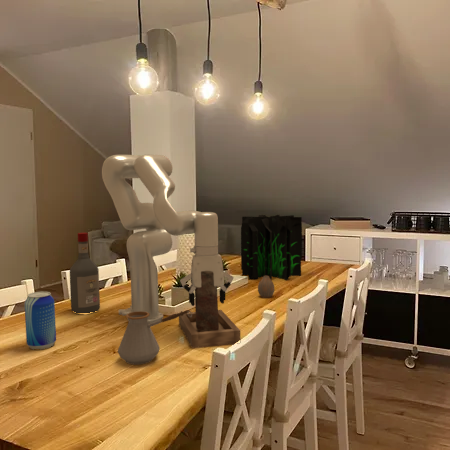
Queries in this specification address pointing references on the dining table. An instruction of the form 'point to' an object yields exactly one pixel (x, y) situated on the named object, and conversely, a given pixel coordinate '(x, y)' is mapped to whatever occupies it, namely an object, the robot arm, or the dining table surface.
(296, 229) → the black pleated panel block
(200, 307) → the dark brown block
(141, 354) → the coffee pot
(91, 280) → the liquor
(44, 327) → the beer can
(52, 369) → the dining table surface
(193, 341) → the wooden tray
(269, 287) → the brown egg
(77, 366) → the dining table surface
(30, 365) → the dining table surface
